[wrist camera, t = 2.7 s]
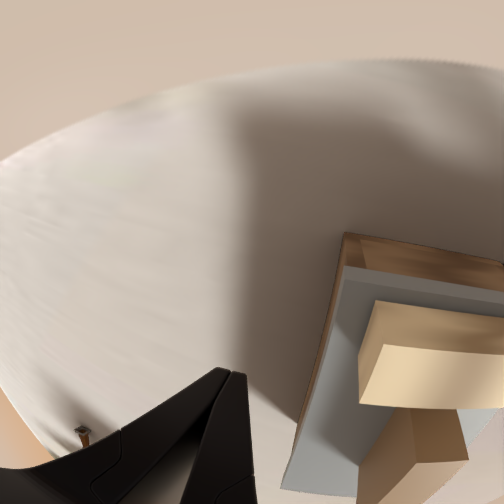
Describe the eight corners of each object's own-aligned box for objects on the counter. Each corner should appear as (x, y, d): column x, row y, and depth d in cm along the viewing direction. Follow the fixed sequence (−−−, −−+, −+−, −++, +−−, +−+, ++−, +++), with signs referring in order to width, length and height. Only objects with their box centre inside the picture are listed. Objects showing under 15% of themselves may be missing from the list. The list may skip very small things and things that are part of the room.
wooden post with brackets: (102, 462, 36) (84, 474, 31) (93, 419, 36) (72, 430, 32) (111, 465, 35) (93, 478, 31) (102, 423, 36) (81, 434, 31)
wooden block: (537, 321, 9) (563, 356, 6) (513, 368, 9) (532, 405, 7) (375, 300, 10) (383, 344, 8) (357, 355, 11) (358, 403, 9)
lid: (542, 298, 9) (596, 364, 5) (417, 484, 16) (418, 541, 11) (343, 265, 11) (346, 353, 7) (283, 475, 18) (267, 536, 13)
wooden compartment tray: (548, 272, 13) (597, 320, 8) (458, 435, 19) (469, 490, 14) (344, 231, 16) (349, 285, 10) (297, 424, 22) (283, 488, 17)
